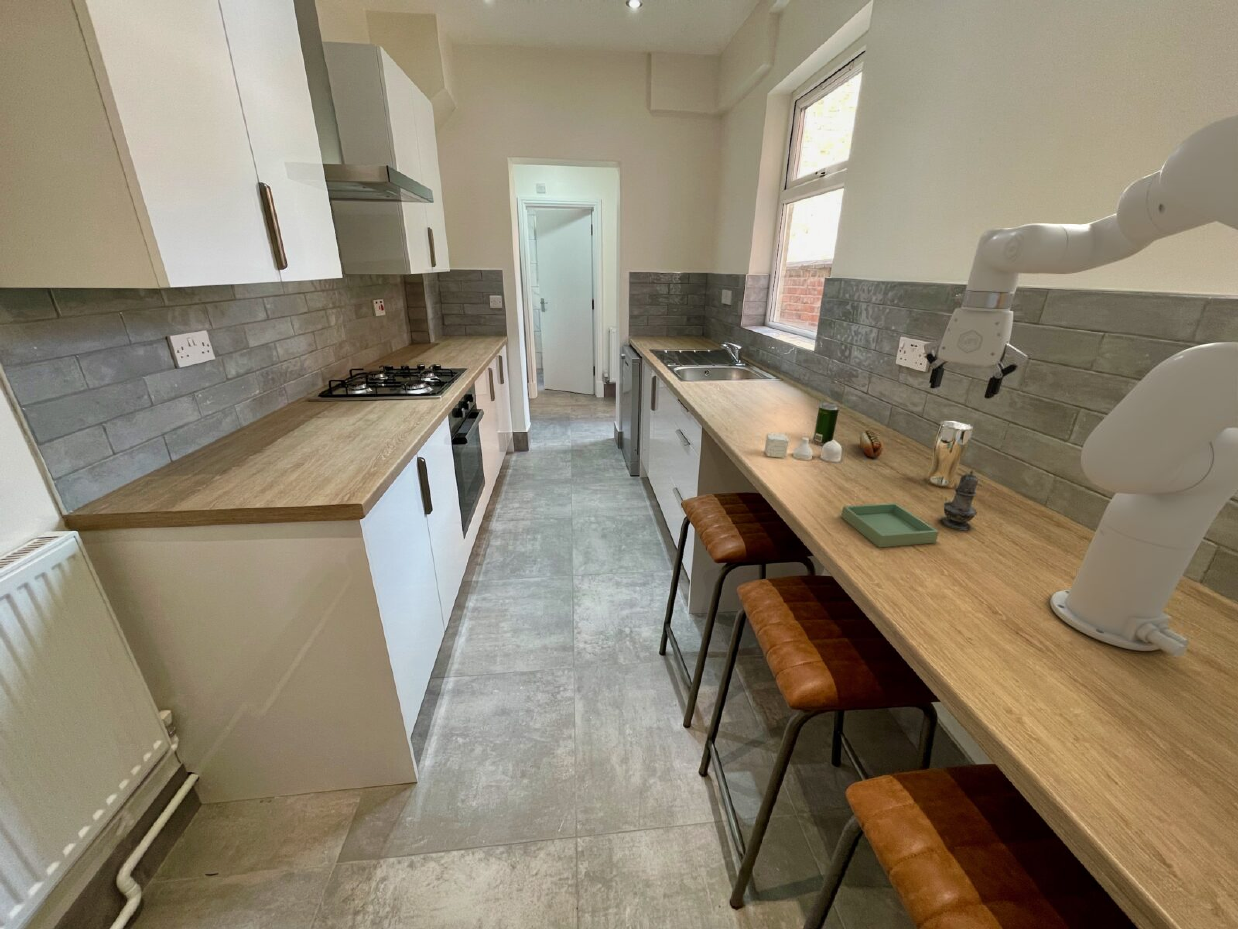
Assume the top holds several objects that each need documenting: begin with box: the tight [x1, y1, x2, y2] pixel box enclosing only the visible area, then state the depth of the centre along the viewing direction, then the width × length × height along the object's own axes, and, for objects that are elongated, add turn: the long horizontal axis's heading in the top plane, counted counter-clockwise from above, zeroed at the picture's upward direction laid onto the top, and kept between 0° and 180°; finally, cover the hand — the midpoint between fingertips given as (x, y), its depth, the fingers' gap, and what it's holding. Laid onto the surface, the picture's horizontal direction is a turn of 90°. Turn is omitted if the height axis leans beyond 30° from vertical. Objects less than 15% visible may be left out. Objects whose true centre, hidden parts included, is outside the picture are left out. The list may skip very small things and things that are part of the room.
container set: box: [764, 433, 843, 463], centre depth 134 cm, size 20×5×6 cm, turn 83°
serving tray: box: [840, 502, 940, 548], centre depth 98 cm, size 12×12×2 cm
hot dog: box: [859, 430, 884, 458], centre depth 139 cm, size 5×13×5 cm, turn 163°
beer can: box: [812, 401, 840, 447], centre depth 144 cm, size 5×5×12 cm
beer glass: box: [925, 420, 974, 489], centre depth 118 cm, size 7×7×15 cm
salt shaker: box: [939, 470, 979, 531], centre depth 99 cm, size 6×6×12 cm
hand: (960, 392), depth 97 cm, fingers open, 9 cm apart
